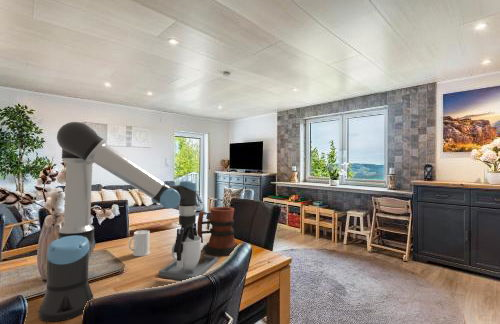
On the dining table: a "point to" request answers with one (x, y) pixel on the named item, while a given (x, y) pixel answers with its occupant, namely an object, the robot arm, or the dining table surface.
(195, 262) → the mug
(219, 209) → the tankard
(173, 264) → the tray
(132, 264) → the dining table surface
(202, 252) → the walnut block
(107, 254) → the dining table surface
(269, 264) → the dining table surface
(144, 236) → the mug
